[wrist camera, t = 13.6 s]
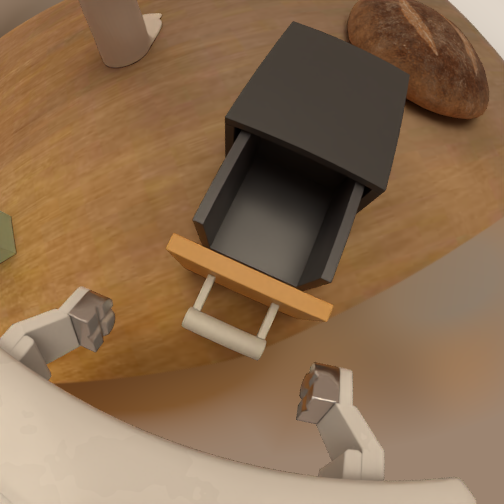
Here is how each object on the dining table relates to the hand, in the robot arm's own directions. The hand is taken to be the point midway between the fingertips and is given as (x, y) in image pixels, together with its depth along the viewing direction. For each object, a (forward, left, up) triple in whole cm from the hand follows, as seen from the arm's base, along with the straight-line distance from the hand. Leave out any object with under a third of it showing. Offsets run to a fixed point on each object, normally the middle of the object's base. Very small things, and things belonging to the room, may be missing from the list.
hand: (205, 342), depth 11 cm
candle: (+29, +30, -17) cm, 45 cm away
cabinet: (+21, 0, -17) cm, 27 cm away
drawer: (+8, 0, -16) cm, 18 cm away
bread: (+49, -10, -17) cm, 53 cm away
